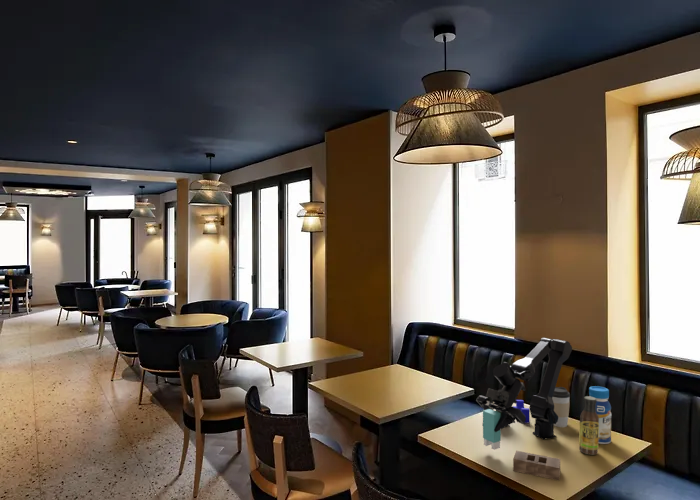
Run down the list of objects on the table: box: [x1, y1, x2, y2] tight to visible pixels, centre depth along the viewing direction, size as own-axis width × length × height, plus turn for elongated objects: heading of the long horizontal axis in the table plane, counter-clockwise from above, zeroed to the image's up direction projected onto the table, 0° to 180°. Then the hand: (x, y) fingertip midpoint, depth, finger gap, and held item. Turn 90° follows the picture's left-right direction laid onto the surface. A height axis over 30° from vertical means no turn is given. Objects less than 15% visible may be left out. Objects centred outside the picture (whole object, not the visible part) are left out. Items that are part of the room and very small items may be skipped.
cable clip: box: [512, 399, 531, 424], centre depth 199 cm, size 12×4×6 cm, turn 171°
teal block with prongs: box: [482, 409, 502, 451], centre depth 164 cm, size 4×5×12 cm
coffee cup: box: [552, 386, 571, 428], centre depth 192 cm, size 9×9×15 cm
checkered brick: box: [512, 450, 561, 481], centre depth 152 cm, size 14×7×4 cm, turn 63°
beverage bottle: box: [588, 385, 612, 445], centre depth 176 cm, size 8×8×20 cm
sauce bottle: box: [578, 395, 599, 456], centre depth 166 cm, size 6×6×20 cm
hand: (489, 428), depth 163 cm, fingers closed on teal block with prongs, 5 cm apart
